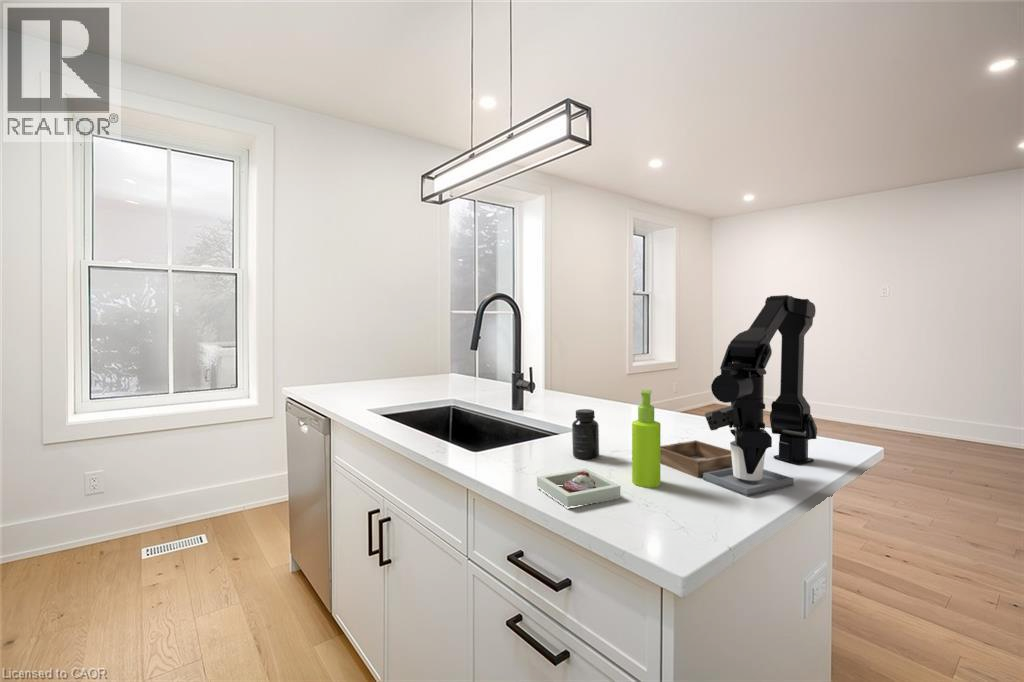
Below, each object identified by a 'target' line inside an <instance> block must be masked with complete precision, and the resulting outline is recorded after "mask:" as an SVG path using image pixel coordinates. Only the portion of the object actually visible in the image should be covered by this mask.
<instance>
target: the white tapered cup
mask: <svg viewBox="0 0 1024 682" xmlns="http://www.w3.org/2000/svg"><path fill="white" fill-rule="evenodd" d="M729 445H730V451H731V456H732V467H733V475H734V476H735V477H737V478H740V479H744V480H751V481H753V480H761V479H762V476H763V469H765V468H764V467H765V458H766V452H765V453H764V454H763V456H762V458H761V460H760V461H759V463H758V465H757V467H756V469H755V471H754V473H753V474H747V471H746V466H745V461H744V456H743V450H742V449H741V448H740V447H739V446H737V445H736V443H735V441H734V440H733V441H732V440H731V441H730V443H729Z"/></svg>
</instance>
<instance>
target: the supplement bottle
mask: <svg viewBox="0 0 1024 682" xmlns="http://www.w3.org/2000/svg"><path fill="white" fill-rule="evenodd" d="M595 417H596V416H595V411H594V409H591V408H590V409H589V408H588V409H587V408H582V409H576V410H575V419H576V420H574V421H573V422H572V424H571V431H572V432H571V433H572V437H571V440H572V456H573V457H574V458H575V459H577V460H584V461H585V460H587V461H589V460H595V459H597V458H599V455H600V437H599V436H600V433H599V432H600V429H599V426H600V425H599V423H598V421H596V420H595Z"/></svg>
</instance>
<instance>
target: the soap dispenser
mask: <svg viewBox="0 0 1024 682" xmlns="http://www.w3.org/2000/svg"><path fill="white" fill-rule="evenodd" d="M640 394H641V404H640V405H638V406H637V420H632V421H631V470H632V471H631V475H632V476H631V479H632V480H631V482H632V484H633V485H635V486H638V487H641V488H657V487H660V485H661V463H660V446H661V422H659V421H655V406H654V405H652V404H651V395H652V389H642V390H641V392H640Z"/></svg>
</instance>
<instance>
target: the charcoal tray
mask: <svg viewBox="0 0 1024 682" xmlns="http://www.w3.org/2000/svg"><path fill="white" fill-rule="evenodd" d="M702 479H703V481H705V482H707V483H710V484H714V485H716V486H719V487H721V488H724V489H726V490H730V491H732V492H734V493H736V494H739V495H741V496H745V497H752V496H755V495H760V494H764V493H769V492H772V491H775V490H776V491H777V490H781V489H785V488H789V487H794V484H795V482H794V478H793V477H791V476H790V477H789V476H787V475H784V474H780V473H777V472H775V471H771V470H767V469H765V468H763V476H762V479H761V480H753V481H751V480H744V479H740V478H737V477H735V476H734V475H733V467H731V468H726V469H721V470H716V471H711V472H706V473H703V477H702Z"/></svg>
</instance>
